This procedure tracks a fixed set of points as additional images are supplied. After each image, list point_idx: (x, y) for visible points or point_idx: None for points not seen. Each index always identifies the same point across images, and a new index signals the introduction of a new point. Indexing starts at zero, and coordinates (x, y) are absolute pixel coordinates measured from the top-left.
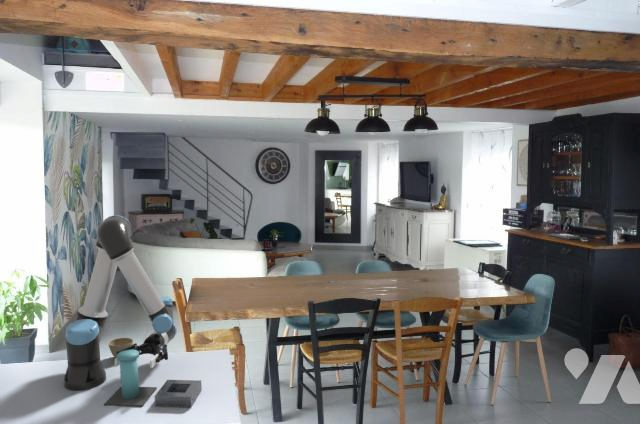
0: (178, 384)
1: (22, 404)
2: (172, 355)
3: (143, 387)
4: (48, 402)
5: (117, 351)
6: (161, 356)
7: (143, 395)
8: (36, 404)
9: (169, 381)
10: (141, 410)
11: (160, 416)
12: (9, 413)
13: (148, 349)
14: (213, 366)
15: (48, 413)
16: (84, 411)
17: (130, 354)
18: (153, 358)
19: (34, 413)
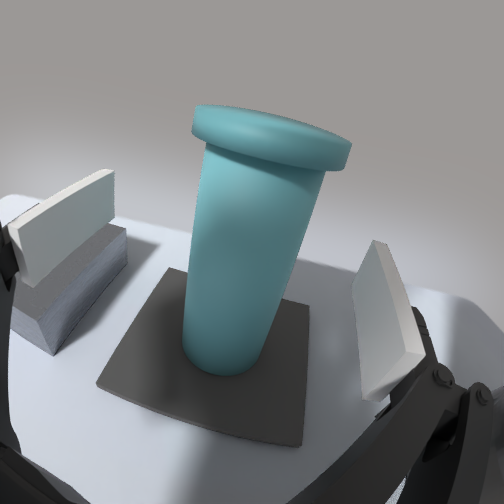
0: (19, 275)
1: (495, 343)
2: None
3: (165, 404)
4: (464, 348)
5: (486, 390)
6: (3, 230)
7: (163, 326)
8: (476, 341)
9: (37, 299)
10: (172, 257)
11: (124, 224)
12: (482, 314)
13: (40, 469)
14: None
15: (424, 302)
16: (348, 293)
17: (253, 114)
18: (80, 183)
19: (448, 307)
